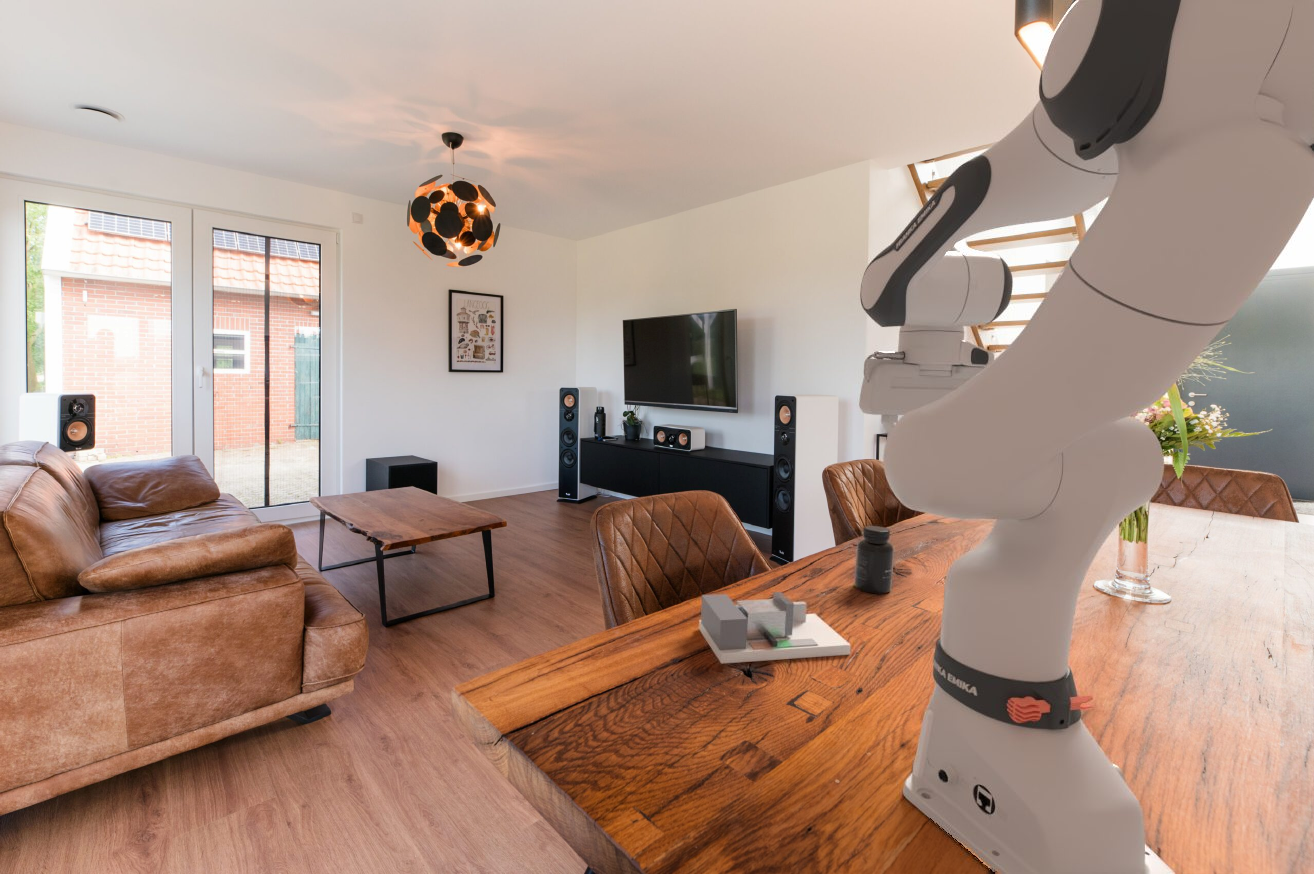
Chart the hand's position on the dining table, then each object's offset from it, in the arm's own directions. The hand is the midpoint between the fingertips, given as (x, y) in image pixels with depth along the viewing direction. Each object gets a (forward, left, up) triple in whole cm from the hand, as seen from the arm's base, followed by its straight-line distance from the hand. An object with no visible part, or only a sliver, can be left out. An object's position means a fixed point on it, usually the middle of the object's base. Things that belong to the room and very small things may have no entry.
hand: (922, 445), depth 93 cm
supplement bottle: (+24, -8, -31) cm, 40 cm away
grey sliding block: (+2, +22, -29) cm, 37 cm away
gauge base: (+4, +21, -31) cm, 38 cm away
